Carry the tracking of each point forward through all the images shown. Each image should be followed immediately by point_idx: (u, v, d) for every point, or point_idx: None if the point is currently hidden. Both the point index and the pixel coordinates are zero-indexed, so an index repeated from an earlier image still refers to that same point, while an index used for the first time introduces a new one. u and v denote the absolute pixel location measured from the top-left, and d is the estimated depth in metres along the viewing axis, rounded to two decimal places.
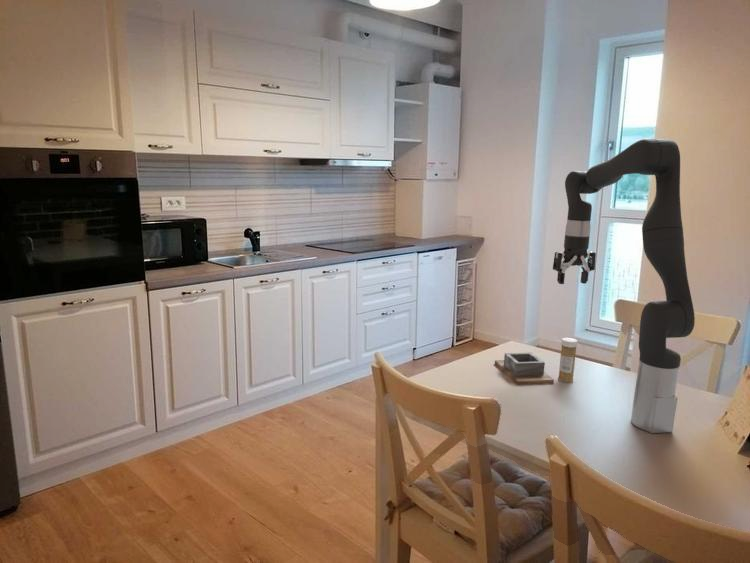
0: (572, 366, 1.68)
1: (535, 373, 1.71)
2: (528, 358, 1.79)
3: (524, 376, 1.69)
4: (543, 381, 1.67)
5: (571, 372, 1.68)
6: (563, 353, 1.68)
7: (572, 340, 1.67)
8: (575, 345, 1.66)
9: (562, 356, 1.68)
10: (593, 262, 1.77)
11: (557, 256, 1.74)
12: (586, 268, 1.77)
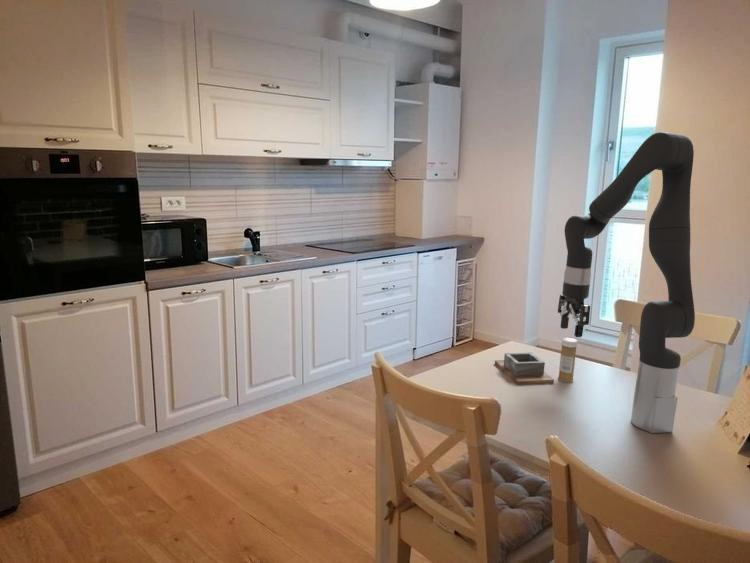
0: (572, 366, 1.68)
1: (535, 373, 1.71)
2: (528, 358, 1.79)
3: (524, 376, 1.69)
4: (543, 381, 1.67)
5: (571, 372, 1.68)
6: (563, 353, 1.68)
7: (572, 340, 1.67)
8: (575, 345, 1.66)
9: (562, 356, 1.68)
10: None
11: (587, 309, 1.59)
12: None
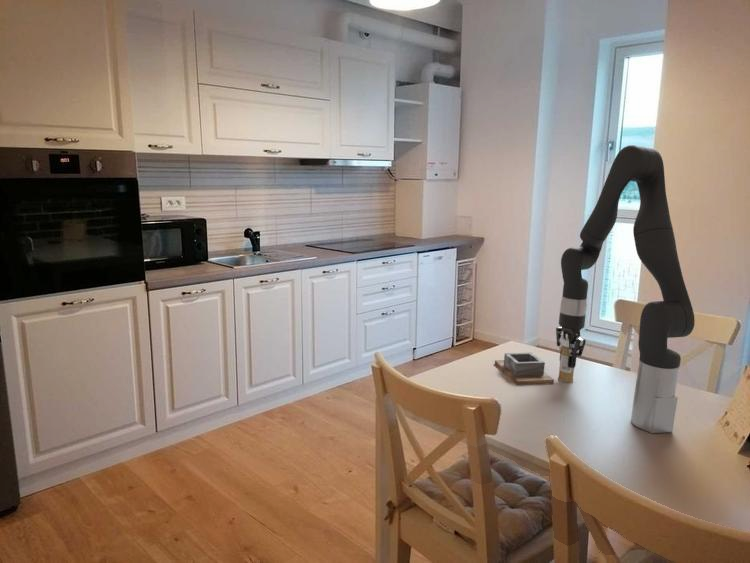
0: None
1: (535, 373, 1.71)
2: (528, 358, 1.79)
3: (524, 376, 1.69)
4: (543, 381, 1.67)
5: (571, 372, 1.68)
6: (563, 353, 1.68)
7: None
8: None
9: (562, 356, 1.68)
10: None
11: (582, 344, 1.62)
12: None
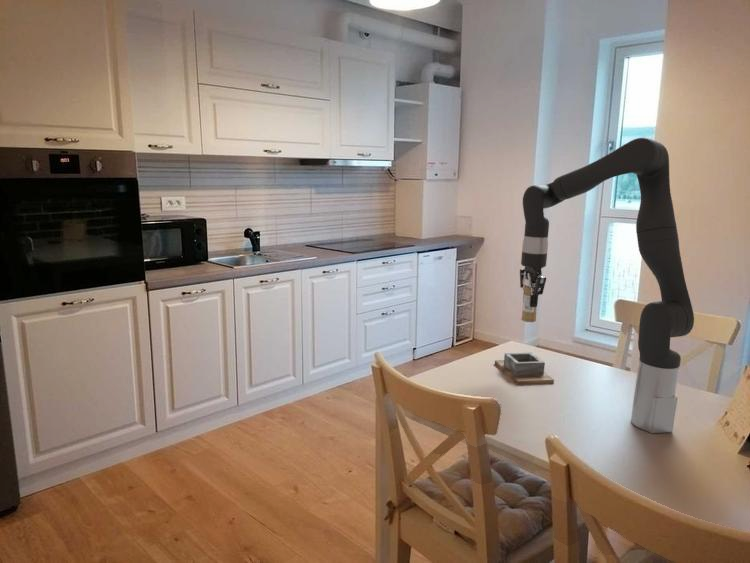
0: None
1: (535, 373, 1.71)
2: (528, 358, 1.79)
3: (524, 376, 1.69)
4: (543, 381, 1.67)
5: (533, 312, 1.69)
6: (525, 293, 1.69)
7: None
8: None
9: (525, 296, 1.69)
10: None
11: (543, 281, 1.63)
12: None
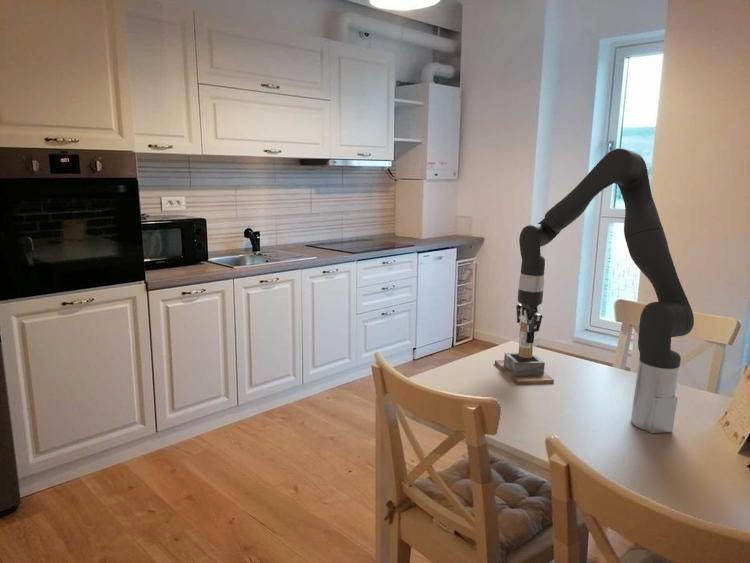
0: None
1: (535, 373, 1.71)
2: (528, 358, 1.79)
3: (524, 376, 1.69)
4: (543, 381, 1.67)
5: (530, 348, 1.72)
6: (522, 329, 1.72)
7: None
8: None
9: (521, 332, 1.72)
10: None
11: (539, 319, 1.65)
12: None
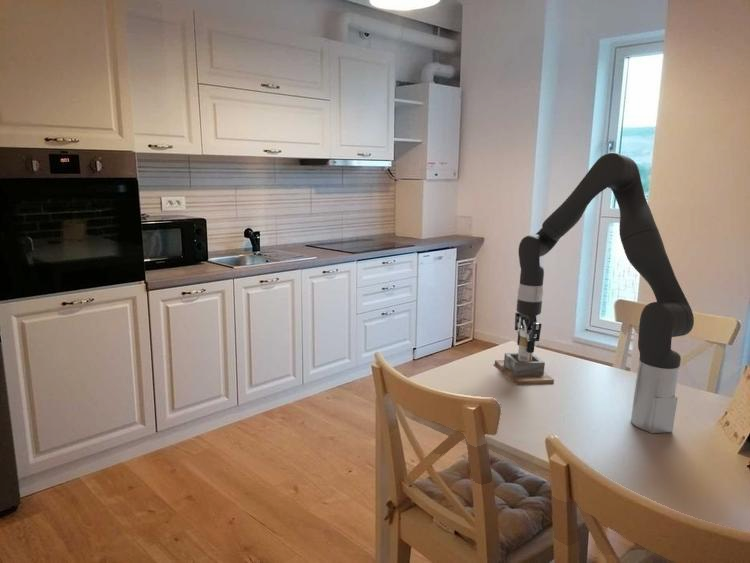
0: (529, 356, 1.72)
1: (535, 373, 1.71)
2: None
3: (524, 376, 1.69)
4: (543, 381, 1.67)
5: None
6: (520, 344, 1.72)
7: None
8: None
9: (520, 346, 1.73)
10: None
11: (538, 327, 1.66)
12: None
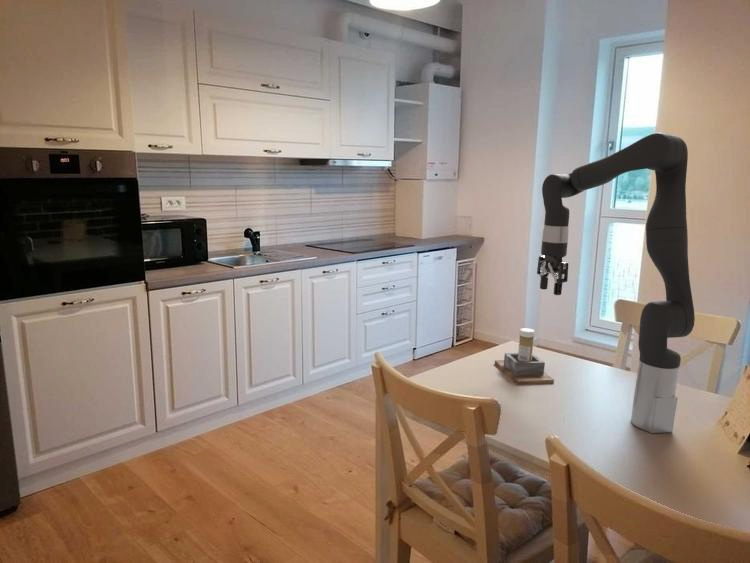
0: (529, 356, 1.72)
1: (535, 373, 1.71)
2: None
3: (524, 376, 1.69)
4: (543, 381, 1.67)
5: (529, 361, 1.73)
6: (520, 343, 1.73)
7: (529, 330, 1.72)
8: (532, 335, 1.71)
9: (520, 346, 1.73)
10: None
11: (566, 266, 1.61)
12: None
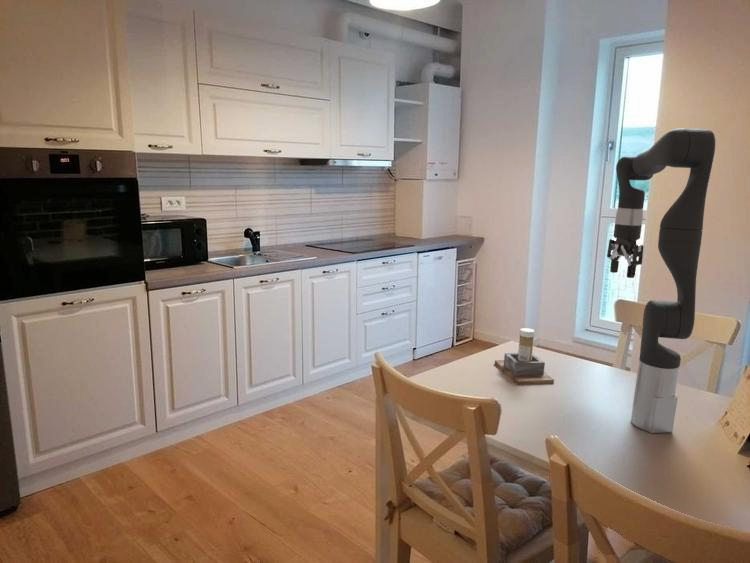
0: (529, 356, 1.72)
1: (535, 373, 1.71)
2: None
3: (524, 376, 1.69)
4: (543, 381, 1.67)
5: (529, 361, 1.73)
6: (520, 343, 1.73)
7: (529, 330, 1.72)
8: (532, 335, 1.71)
9: (520, 346, 1.73)
10: None
11: (641, 249, 1.61)
12: None
